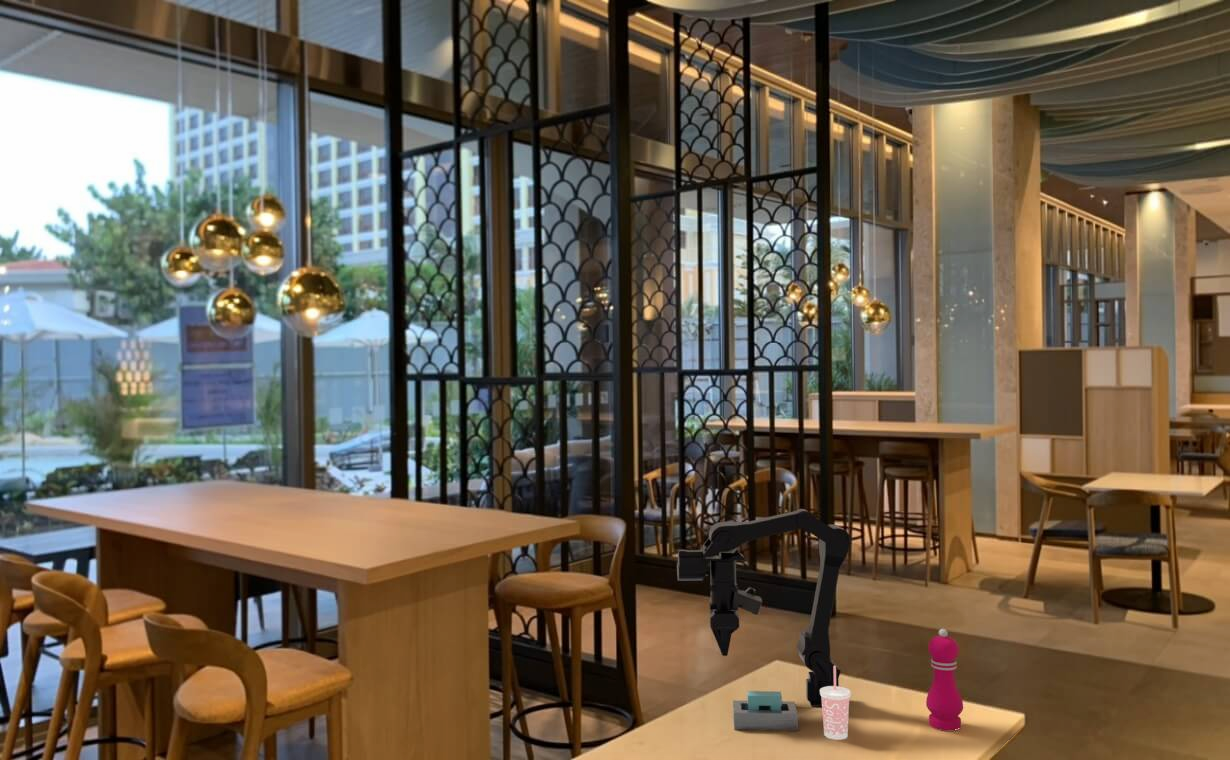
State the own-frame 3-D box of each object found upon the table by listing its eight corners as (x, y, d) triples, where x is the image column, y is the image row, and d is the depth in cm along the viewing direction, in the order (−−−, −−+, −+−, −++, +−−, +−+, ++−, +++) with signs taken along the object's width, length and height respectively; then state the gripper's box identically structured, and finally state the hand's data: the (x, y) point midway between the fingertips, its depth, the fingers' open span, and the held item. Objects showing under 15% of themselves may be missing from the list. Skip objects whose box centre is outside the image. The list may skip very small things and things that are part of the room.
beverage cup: (814, 734, 184) (812, 665, 185) (833, 727, 188) (832, 659, 188) (838, 743, 180) (837, 672, 180) (857, 736, 183) (856, 666, 183)
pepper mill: (964, 722, 190) (962, 626, 190) (962, 734, 183) (960, 634, 184) (928, 717, 193) (926, 623, 193) (924, 729, 186) (922, 631, 187)
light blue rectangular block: (748, 722, 190) (747, 695, 190) (747, 716, 193) (747, 690, 193) (782, 722, 189) (781, 696, 189) (781, 717, 192) (780, 691, 192)
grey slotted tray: (794, 718, 194) (794, 701, 194) (798, 730, 186) (797, 713, 187) (733, 716, 195) (732, 700, 195) (734, 729, 188) (734, 712, 188)
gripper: (762, 589, 194) (763, 662, 194) (757, 571, 212) (758, 638, 212) (709, 588, 195) (710, 661, 195) (709, 571, 213) (710, 638, 213)
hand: (724, 649), depth 204 cm, fingers open, 9 cm apart
